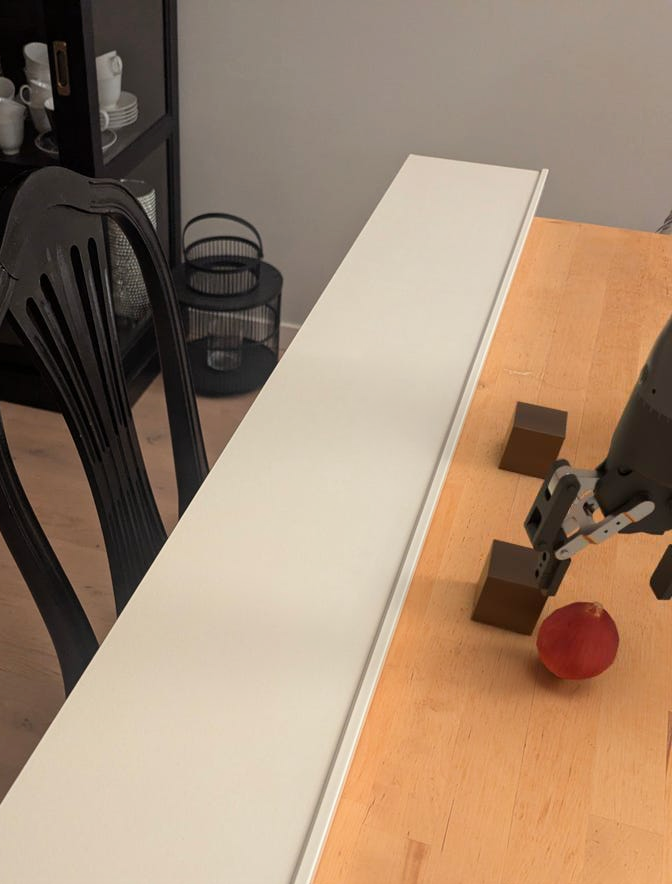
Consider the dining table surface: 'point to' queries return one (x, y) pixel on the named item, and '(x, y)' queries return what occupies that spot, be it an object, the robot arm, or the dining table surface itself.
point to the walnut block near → (509, 589)
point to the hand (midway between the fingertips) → (601, 590)
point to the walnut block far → (533, 439)
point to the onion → (578, 641)
